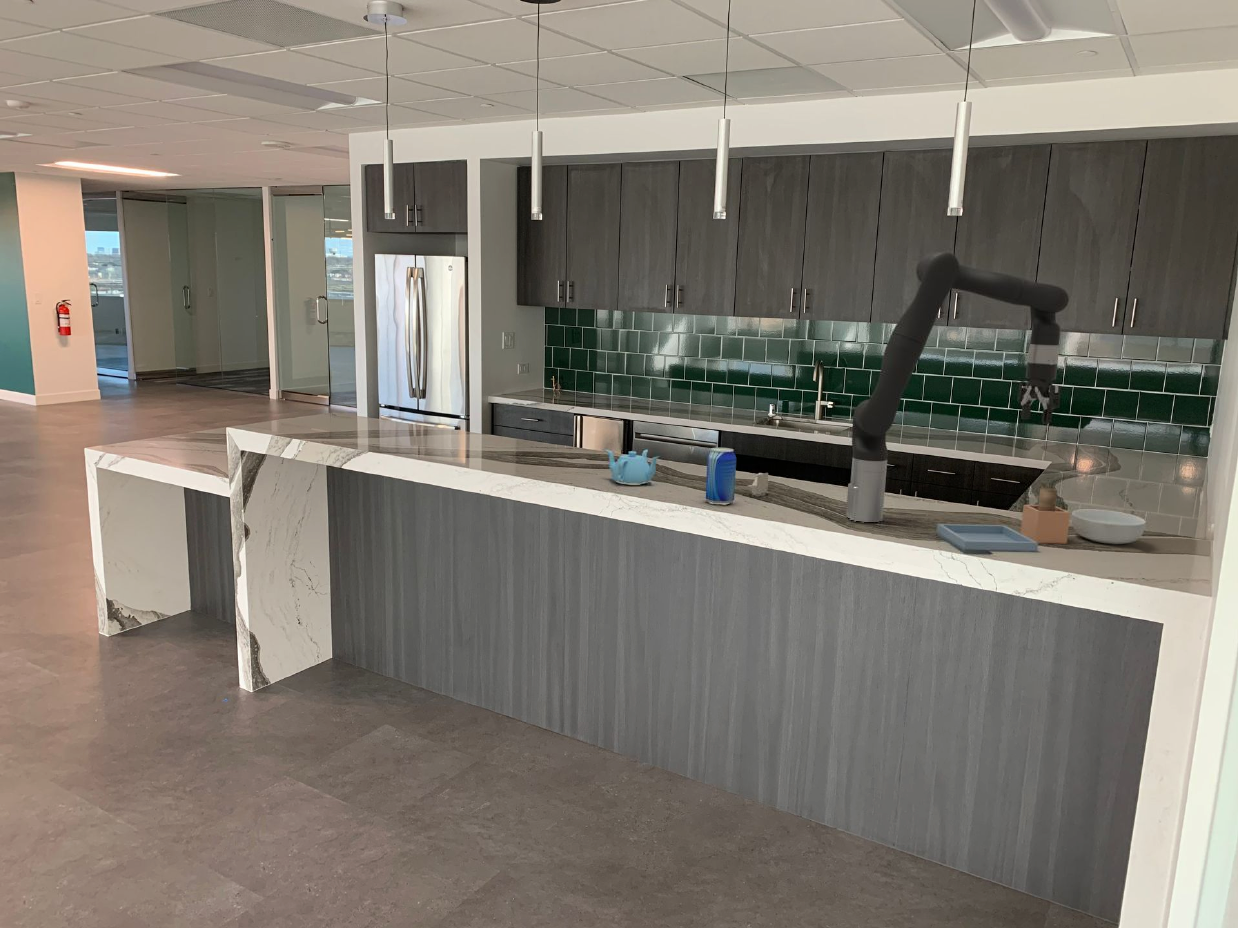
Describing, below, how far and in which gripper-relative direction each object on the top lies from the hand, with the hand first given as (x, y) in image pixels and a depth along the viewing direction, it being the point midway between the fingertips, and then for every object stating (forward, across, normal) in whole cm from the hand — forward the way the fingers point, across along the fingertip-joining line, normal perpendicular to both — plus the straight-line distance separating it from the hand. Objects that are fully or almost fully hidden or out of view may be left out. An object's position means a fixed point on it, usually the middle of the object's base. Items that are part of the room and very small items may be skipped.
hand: (1035, 421), depth 253 cm
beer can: (+30, -35, -77) cm, 90 cm away
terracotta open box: (+29, +18, -8) cm, 35 cm away
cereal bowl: (+29, +20, +9) cm, 37 cm away
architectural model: (+30, -44, -61) cm, 81 cm away
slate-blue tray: (+29, +19, -25) cm, 43 cm away
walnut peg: (+28, +18, -8) cm, 34 cm away
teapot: (+30, -68, -95) cm, 121 cm away
